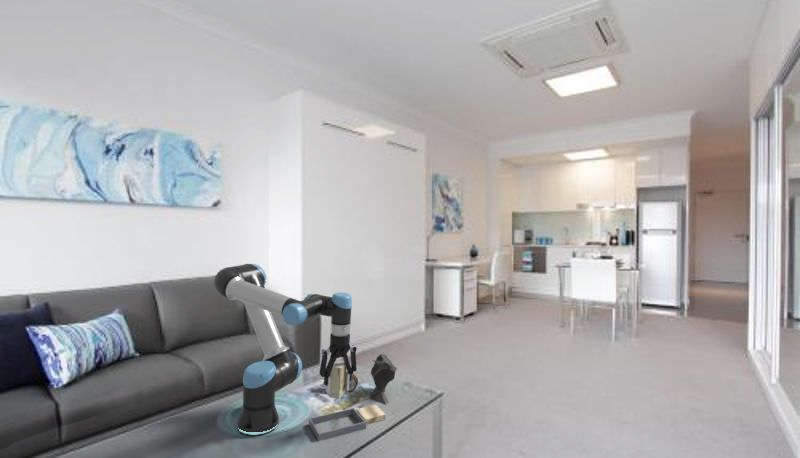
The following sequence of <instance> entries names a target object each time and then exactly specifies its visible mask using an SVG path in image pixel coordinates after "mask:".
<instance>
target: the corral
mask: <svg viewBox="0 0 800 458" xmlns="http://www.w3.org/2000/svg"><path fill="white" fill-rule="evenodd" d="M350 416H353V417H354V418H355V419H356V421H358V423H353V424H351V425H350V424H349V425H346V426H343V427H339V428H334V429H331V430H330V429H329V430H327V431H323V432H320V431H319V430H318V428H317V426H316V424H320V423H324V422H325V423H326V422H329V421H333V420H337V419H341V418H345V417H350ZM308 426H309V428H310V429H311V430H312V432H313V434H314V436H315V437H316V439H317V440H318V442H320V441H324V440H328V439H332V438H335V437H339V436H342V435H346V434H350V433H353V432H357V431H363V430H364V429H366V428H367V424H366V421H365V420H364V419H363V418H362V417H361V415H360V414H359V413H358V412H357V411H356V408H355V407H353V408H348V409H344V410H343V409H342V410H339V411H335V412H331V413H326V414H321V415H318V416H314V417H309V418H308Z"/></svg>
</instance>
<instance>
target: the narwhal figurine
mask: <svg viewBox="0 0 800 458" xmlns="http://www.w3.org/2000/svg"><path fill="white" fill-rule="evenodd" d="M372 362H374V364H373V366H372V368H371V370H370V375H371V378H372V379H373V382H374V385H375V387H374V389H373V390H372V393H371V394H370V395H369V396H370V398H369V399H370V400H371V401H374V402H377V403H380V404H382V405H387V404H389V403H390V401H389V399H388V398H387V396H386V394H385V392H386V389H387V386H388V384H389V383H390V382H391V381H394V380H395V376H396V371H397V370H398V369H397V367H396V366H395V365H394V364H393V362H392V361H391V360H390V359H389V358H388V356H387V354H383V353H381V354H379V355H378V356H377V357H376V360H374V359H373V360H372Z"/></svg>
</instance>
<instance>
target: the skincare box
mask: <svg viewBox="0 0 800 458" xmlns="http://www.w3.org/2000/svg"><path fill="white" fill-rule="evenodd" d="M346 372H347V368H346V364H345V362H344V361H337V360H336V361H335V362H334V365H333V367H332V370H331V372H330V377H331V382H330V394H328V397H329V398H331V399H338V400H340V399H341V398H342V397H343V396H344V394H345V393H346V391H345V381H346Z"/></svg>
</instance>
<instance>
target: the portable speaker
mask: <svg viewBox="0 0 800 458" xmlns="http://www.w3.org/2000/svg"><path fill="white" fill-rule="evenodd" d="M329 376H330V375H329ZM358 384H359V380H358V376H356V374H354V373H353V374H352V378H351V381H349V390H348V391H347V390H346V389H345V393H346V392H347V393H351V392H354V390H356V389H357V388H358Z"/></svg>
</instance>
